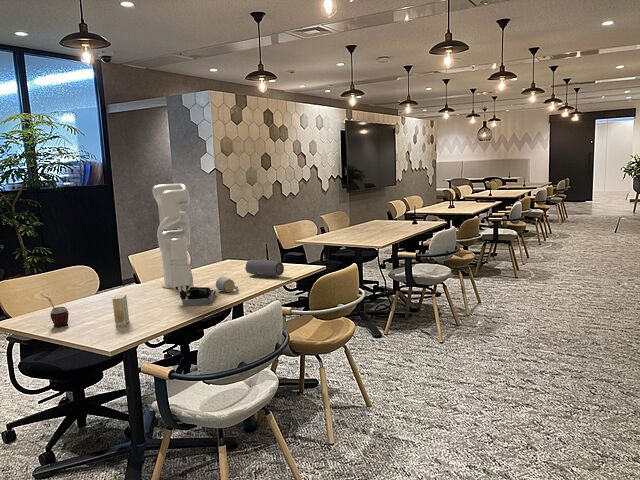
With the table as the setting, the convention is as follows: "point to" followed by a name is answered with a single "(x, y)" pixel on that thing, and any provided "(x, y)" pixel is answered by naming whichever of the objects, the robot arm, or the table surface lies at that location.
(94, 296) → the table surface
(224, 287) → the ceramic mug
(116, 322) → the skincare box
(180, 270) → the robot arm
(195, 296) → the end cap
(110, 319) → the table surface
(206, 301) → the tray
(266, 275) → the bluetooth speaker
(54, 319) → the mate gourd
